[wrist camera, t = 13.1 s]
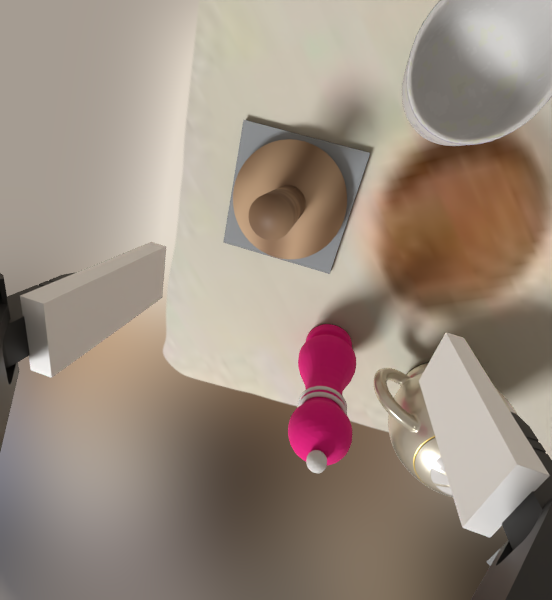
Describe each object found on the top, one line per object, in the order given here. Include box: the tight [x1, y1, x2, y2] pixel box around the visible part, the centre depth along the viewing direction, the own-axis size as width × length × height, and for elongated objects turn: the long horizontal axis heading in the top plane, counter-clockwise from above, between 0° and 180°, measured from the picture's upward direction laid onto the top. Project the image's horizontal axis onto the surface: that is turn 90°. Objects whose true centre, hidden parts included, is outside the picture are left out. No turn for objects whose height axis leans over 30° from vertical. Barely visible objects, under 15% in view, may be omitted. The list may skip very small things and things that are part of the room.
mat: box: [224, 120, 370, 274], centre depth 37 cm, size 14×14×1 cm
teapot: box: [374, 363, 517, 497], centre depth 36 cm, size 18×14×16 cm
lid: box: [233, 139, 347, 259], centre depth 32 cm, size 13×13×10 cm
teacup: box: [402, 0, 552, 146], centre depth 26 cm, size 14×11×8 cm
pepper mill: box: [288, 324, 356, 473], centre depth 35 cm, size 7×7×20 cm
